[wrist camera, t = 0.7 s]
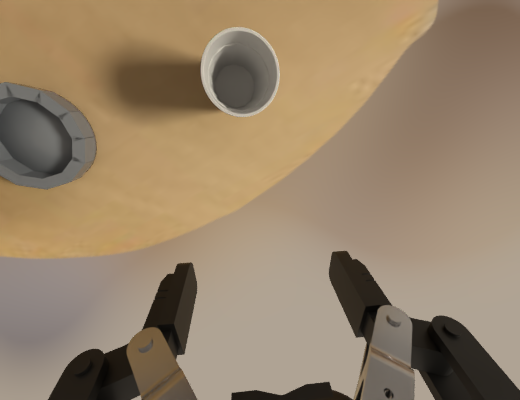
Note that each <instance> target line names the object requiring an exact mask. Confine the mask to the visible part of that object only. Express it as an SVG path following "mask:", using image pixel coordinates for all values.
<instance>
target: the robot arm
mask: <svg viewBox="0 0 520 400" xmlns="http://www.w3.org/2000/svg"><path fill="white" fill-rule="evenodd" d="M329 277H330V281H331V283H332V286H333V287H334V290H335V292H336V294H337V296H338V299H339V301H340V303H341V305H342V307H343V310H344V312H345V314H346V316H347V318H348V321H349V323H350V325H351V327H352V329H353V332H354V334H355V336H356V337H364V338H365V340H366V342H367V344H366V347H365V352H364V356H363V361H362V366H361V371H360V375H359V380H358V384H357V388H356V391H355V395H354V399H351V398H349V397H348V396H346V395H344V394H342V393H339V392H337V391H334V390H332V389H331V386H330V383H329V382H324V383H315V384H306V385H304V386H302V387H300V388H297V389H295V390H293V391H291V392H289V393H287V394H285V395H277V394H272V393H267V392H262V391H257V390H254V391H245V392H236V393H232V399H231V400H414V386H415V384H414V383H415V374H414V370H413V369H417V370H419V372H420V374H421V376H422V377H423V379H424V381H425V383H426V385H427V386H428V388H429V390H430V392H431V393H432V395H433V397H434V399H435V400H520V390H519V389H518V388H517V387H516V386H515V385H514V383H513V382H512V381H511V380H510V379H509V378H508V376H507V375H506V374H505V373H504V372H503V370H502V369H501V368H500V367H499V366H498V365H497V363H496V362H495V361H494V360H493V359H492V358H491V356H490V355H489V354H488V353H487V352H486V351H485V349H484V348H483V347H482V346H481V345H480V344H479V342H478V341H477V340H476V339H475V338H474V337H473V335H472V334H471V333H470V332H469V331H468V330H467V329H466V327H464V326H463V325H462V324H461V323H459V322H458V321H456V320H454V319H452V318H449V317H447V316H436V317H434V318H433V320H432V321H431V322H428V321H423V320H418V319H414V318H410V317H408V315H407V314H406V313H405V312H403V311H402V310H400V309H399V308H397V307H394V306H392V305H391V303H390V302H389V301H388V299H387V297H386V296H385V295H384V293H383V292H382V290H381V289H380V287H379V286H378V284H377V283H376V281H374V278H373V277H372V275H370V272H369V271H368V270H367V268H366V267H365V265H363V264H362V263H361V262H360V261H358V260H357V259H354V260H352V258H351V257H350V255H349V253H348V252H347V251H337V252H332V256H331V262H330V268H329ZM196 294H197V281H196V277H195V272H194V268H193V264H192V263H180V264H177V266H176V269H175V272H174V274H168V275H167V276H166V277H165V278H164V279H163V280H162V281H161V283H160V286H159V289H158V292H157V294H156V296H155V300H154V302H153V304H152V306H151V309H150V312H149V314H148V317H147V319H146V322H145V324H144V327H143V329H142V331H140V332H139V333H137V334H136V335H135V336H134V337H133V338H132V339H131V341H130V342H129V343H128V344H127V345H125V346H123V347H120V348H118V349H115V350H113V351H110V352H108V353H105V354H104V353H103V352H102V351H101V350H99V349H91V350H88V351H85V352H83V353H81V354H80V355H78V356H77V357H76V358H74V359H73V360H72V361H71V362H70V363H69V364H68V366H67V367H66V368H65V370H64V372H63V373H62V375H61V377H60V379H59V381H58V383H57V384H56V386H55V388H54V390H53V391H52V393H51V395H50V397H49V399H48V400H131V399H133V398H135V397H137V396H139V395H141V398H142V400H197V398H196V396H195V394H194V392H193V390H192V388H191V386H190V385H189V382H188V380H187V379H186V377H185V375H184V373H183V371H182V369H181V368H180V367H179V365H178V363H177V362H176V358H177V355H182V354H184V353H185V348H186V343H187V338H188V333H189V329H190V324H191V318H192V313H193V309H194V304H195V298H196ZM411 368H413V369H411Z"/></svg>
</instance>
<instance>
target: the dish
mask: <svg viewBox="0 0 520 400" xmlns="http://www.w3.org/2000/svg"><path fill="white" fill-rule="evenodd" d="M96 149H97V147H96V139H95V135H94V132H93V130H92V127H91V125H90V124H89V122H88V120H87V119H86V118H85V116H84V115H83V114H82V113H81V112H80V111H79V110H78V108H77V107H75V106H74V105H73V104H72V103H71V102H69V101H68V100H66V99H65V98H63V97H61V96H59V95H57V94H56V93H55V92H52V91H47V90H44V89H40V88H35V87H30V86H26V85H22V84H15V83H8V82H4V83H0V176H2V177H4V178H5V179H7V180H9V181H11V182H12V183H14V184H16V185H20V186H27V187H34V188H40V189H50V188H53V187H56V186H59V185H62V184H66V183H69V182H72V181H74V180H76V179H78V178H81V177H82V176H83V174H84V173H85V172H87V171H88V169H89V168H90V167H91V165H92V164H93V162H94V159H95V156H96Z"/></svg>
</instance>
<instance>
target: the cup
mask: <svg viewBox="0 0 520 400" xmlns="http://www.w3.org/2000/svg"><path fill="white" fill-rule="evenodd" d="M200 71H201V80H202V84H203V87H204V90H205V92H206V94H207V96H208V97H209V99H210V100H211V101H212V103H213V104H214V105H215V106H216V107H217V108H219V109H220V110H221V111H223V112H225V113H227V114H229V115H232V116H236V117H248V116H252V115H255V114H257V113H259V112H261V111H262V110H264V109H265V108H266V107H267V106H268V105H269V104H270V103H271V101H272V100H273V98H274V96H275V94H276V92H277V89H278V85H279V78H280V71H279V64H278V60H277V57H276V54H275V52H274V50H273V48H272V47H271V45H270V44H269V43H268V41H267V40H266V39H265V38H264V37H263V36H261V35H260V34H259V33H257V32H255V31H253V30H251V29H248V28H243V27H232V28H228V29H225V30H223V31H221V32H219V33H218V34H216V35H215V36H214V37H213V38H212V39H211V40H210V42H209V43H208V44H207V46H206V48H205V50H204V53H203V56H202V59H201V68H200Z"/></svg>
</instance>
